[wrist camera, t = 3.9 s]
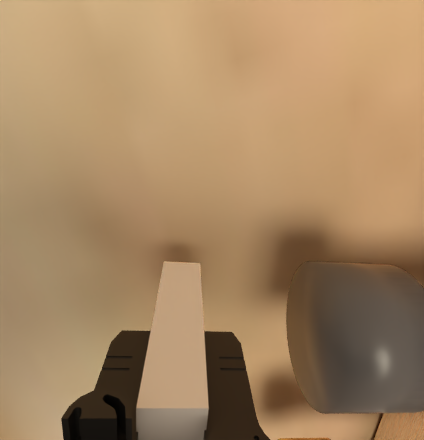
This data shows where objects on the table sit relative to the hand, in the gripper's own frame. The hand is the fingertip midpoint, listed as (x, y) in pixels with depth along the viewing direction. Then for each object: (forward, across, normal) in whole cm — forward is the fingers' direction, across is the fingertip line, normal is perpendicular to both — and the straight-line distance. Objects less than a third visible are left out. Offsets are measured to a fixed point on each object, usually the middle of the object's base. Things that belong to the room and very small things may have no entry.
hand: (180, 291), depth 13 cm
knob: (0, +10, 0) cm, 10 cm away
